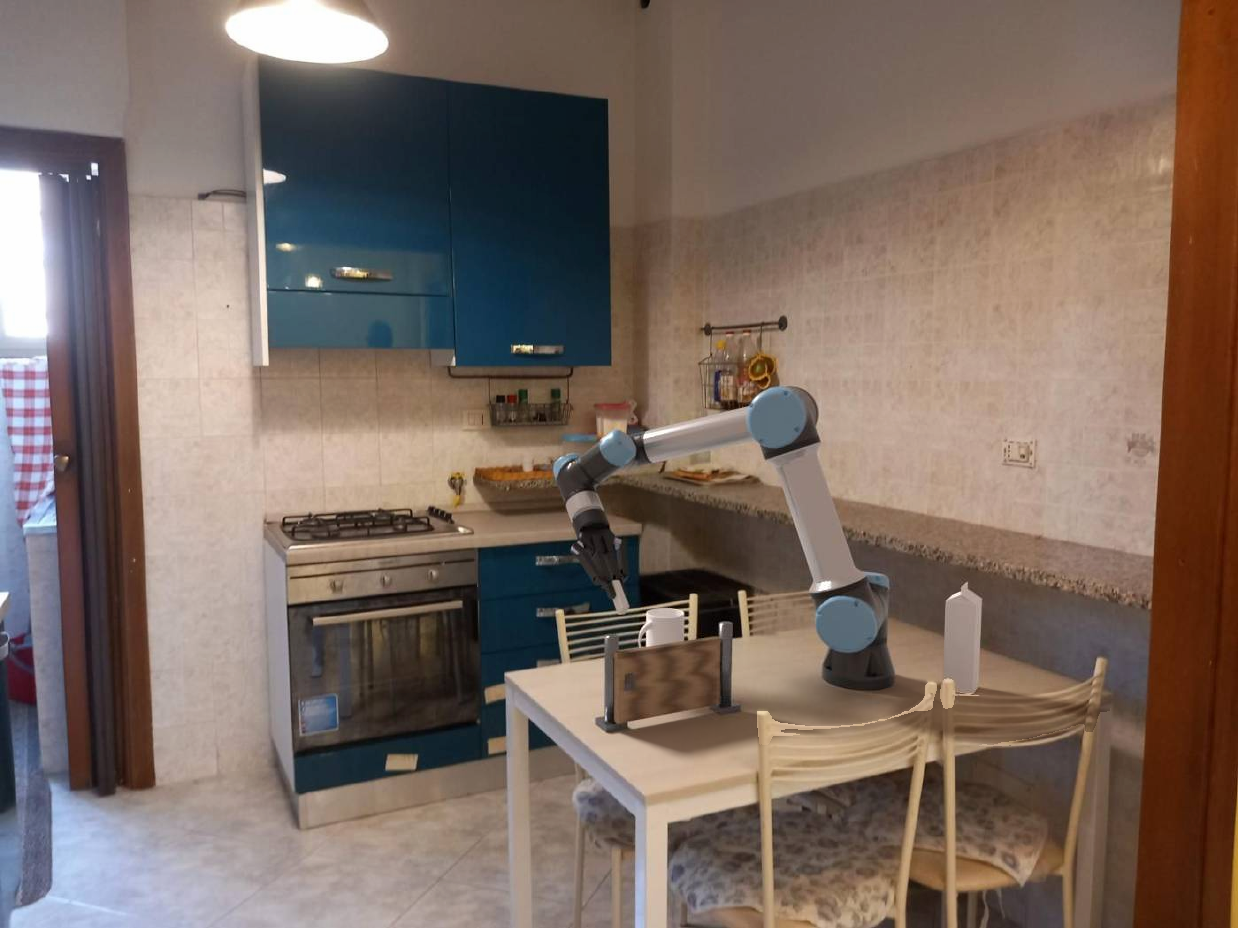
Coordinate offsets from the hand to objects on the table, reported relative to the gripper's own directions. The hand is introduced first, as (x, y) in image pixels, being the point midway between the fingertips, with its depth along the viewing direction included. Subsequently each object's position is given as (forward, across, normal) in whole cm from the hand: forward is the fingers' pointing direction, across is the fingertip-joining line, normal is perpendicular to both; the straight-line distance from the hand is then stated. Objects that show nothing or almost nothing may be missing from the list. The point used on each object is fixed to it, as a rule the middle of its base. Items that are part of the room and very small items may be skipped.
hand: (623, 610), depth 189 cm
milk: (+33, -63, +9) cm, 72 cm away
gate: (+23, 0, +1) cm, 23 cm away
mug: (+1, -18, -23) cm, 29 cm away
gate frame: (+23, -1, -1) cm, 23 cm away
